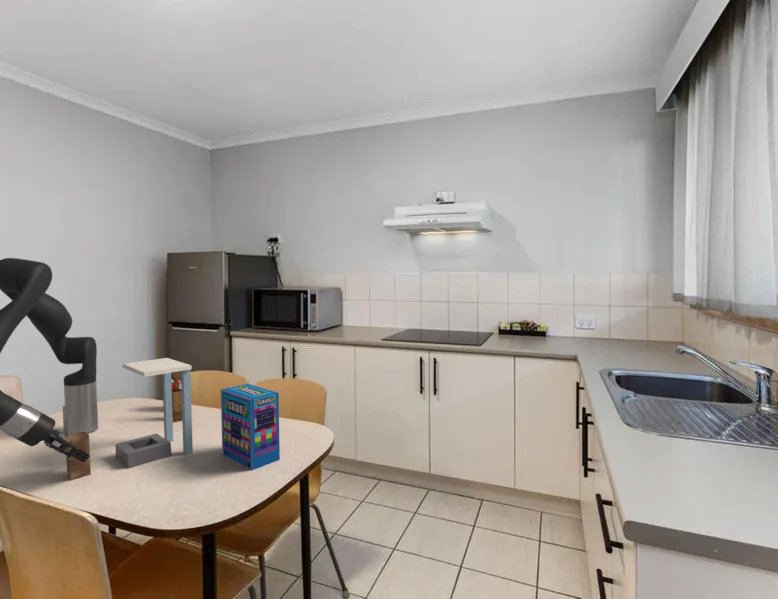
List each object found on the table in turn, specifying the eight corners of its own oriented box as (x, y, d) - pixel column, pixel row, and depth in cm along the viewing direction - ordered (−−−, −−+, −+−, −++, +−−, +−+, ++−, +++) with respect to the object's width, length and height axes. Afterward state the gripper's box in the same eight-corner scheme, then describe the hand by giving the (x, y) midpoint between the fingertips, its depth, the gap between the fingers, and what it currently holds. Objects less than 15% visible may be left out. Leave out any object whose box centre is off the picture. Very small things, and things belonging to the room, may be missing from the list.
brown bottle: (181, 421, 159) (179, 374, 158) (164, 421, 159) (162, 374, 158) (189, 416, 166) (188, 370, 165) (173, 416, 166) (171, 370, 165)
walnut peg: (70, 480, 113) (69, 439, 112) (67, 475, 116) (65, 435, 115) (90, 474, 116) (89, 435, 116) (86, 469, 119) (84, 431, 119)
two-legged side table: (147, 467, 120) (144, 372, 119) (125, 449, 133) (122, 363, 132) (194, 453, 130) (191, 365, 128) (169, 438, 143) (167, 357, 141)
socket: (128, 468, 120) (127, 454, 120) (115, 457, 128) (115, 443, 127) (171, 455, 128) (170, 442, 128) (157, 445, 136) (156, 433, 136)
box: (222, 454, 129) (220, 389, 128) (249, 445, 136) (247, 383, 135) (252, 470, 118) (250, 399, 117) (279, 459, 125) (278, 392, 124)
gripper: (44, 417, 105) (101, 449, 114) (34, 406, 114) (87, 436, 123) (17, 444, 101) (78, 475, 110) (9, 430, 111) (65, 459, 120)
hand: (83, 454), depth 117 cm, fingers open, 8 cm apart
